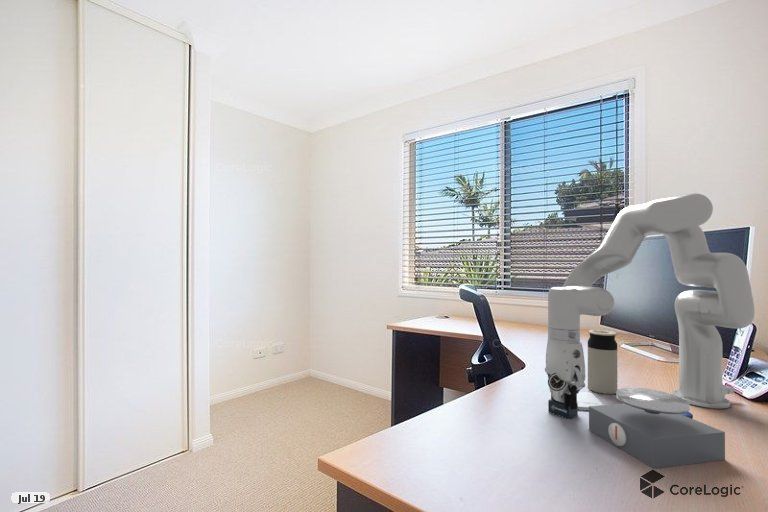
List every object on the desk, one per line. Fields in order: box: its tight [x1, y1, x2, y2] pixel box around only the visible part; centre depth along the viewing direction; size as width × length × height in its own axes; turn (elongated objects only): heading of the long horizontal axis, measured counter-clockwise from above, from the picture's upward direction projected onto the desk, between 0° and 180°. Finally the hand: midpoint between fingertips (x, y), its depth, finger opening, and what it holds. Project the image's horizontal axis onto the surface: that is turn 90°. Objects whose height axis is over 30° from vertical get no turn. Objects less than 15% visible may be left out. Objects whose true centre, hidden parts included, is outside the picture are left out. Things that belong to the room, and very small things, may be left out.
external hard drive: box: [577, 391, 604, 411], centre depth 107 cm, size 2×8×12 cm
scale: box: [588, 403, 726, 469], centre depth 82 cm, size 18×17×6 cm
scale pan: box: [615, 387, 691, 414], centre depth 83 cm, size 13×13×3 cm
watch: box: [547, 373, 579, 420], centre depth 99 cm, size 6×8×11 cm
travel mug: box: [587, 329, 618, 395], centre depth 117 cm, size 8×8×18 cm
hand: (563, 404), depth 99 cm, fingers closed on watch, 4 cm apart
